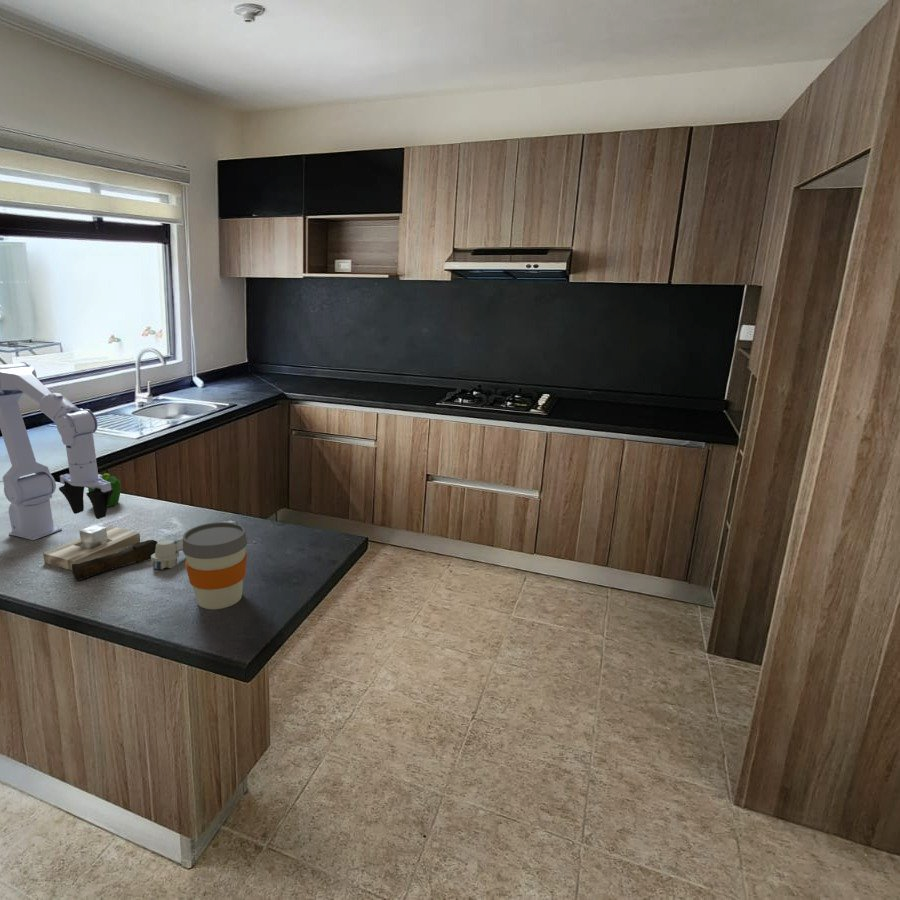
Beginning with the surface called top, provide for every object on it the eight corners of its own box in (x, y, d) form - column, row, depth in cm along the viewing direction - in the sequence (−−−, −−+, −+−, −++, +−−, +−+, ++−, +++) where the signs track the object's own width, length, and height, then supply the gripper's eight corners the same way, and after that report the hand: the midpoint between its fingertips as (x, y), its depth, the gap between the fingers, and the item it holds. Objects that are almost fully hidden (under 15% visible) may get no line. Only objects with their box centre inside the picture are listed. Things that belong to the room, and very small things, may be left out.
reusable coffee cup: (231, 578, 135) (226, 517, 131) (262, 597, 128) (258, 533, 124) (176, 598, 126) (169, 533, 122) (206, 621, 118) (200, 551, 114)
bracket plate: (44, 563, 140) (43, 553, 139) (111, 534, 156) (110, 526, 155) (75, 571, 136) (73, 561, 136) (140, 541, 152) (139, 532, 152)
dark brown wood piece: (77, 584, 131) (74, 565, 130) (72, 578, 134) (69, 559, 132) (165, 559, 144) (164, 541, 143) (159, 553, 147) (157, 536, 146)
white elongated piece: (241, 521, 158) (162, 543, 135) (240, 545, 159) (161, 571, 136) (226, 517, 160) (146, 539, 137) (226, 541, 161) (145, 566, 138)
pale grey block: (82, 553, 145) (79, 530, 144) (97, 547, 149) (94, 524, 147) (94, 556, 144) (91, 533, 142) (109, 549, 147) (106, 527, 146)
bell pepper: (87, 503, 177) (82, 471, 174) (118, 497, 182) (114, 466, 179) (94, 512, 171) (89, 479, 168) (125, 505, 176) (121, 473, 173)
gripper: (119, 461, 142) (125, 514, 146) (76, 453, 147) (83, 504, 151) (92, 469, 136) (100, 524, 139) (48, 460, 141) (56, 514, 144)
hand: (89, 514), depth 144 cm, fingers open, 7 cm apart
